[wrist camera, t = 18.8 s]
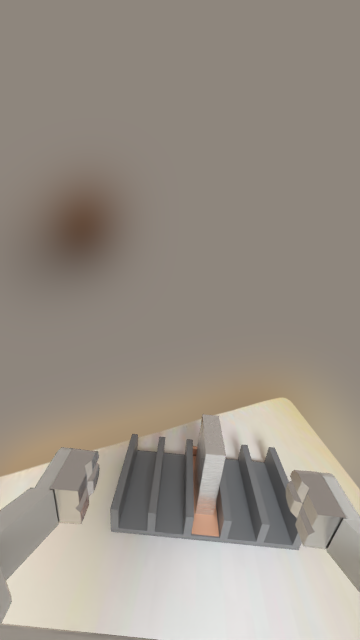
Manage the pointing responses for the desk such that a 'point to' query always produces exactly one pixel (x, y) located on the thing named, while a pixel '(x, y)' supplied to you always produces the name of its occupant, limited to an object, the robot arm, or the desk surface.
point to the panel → (208, 464)
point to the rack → (179, 499)
